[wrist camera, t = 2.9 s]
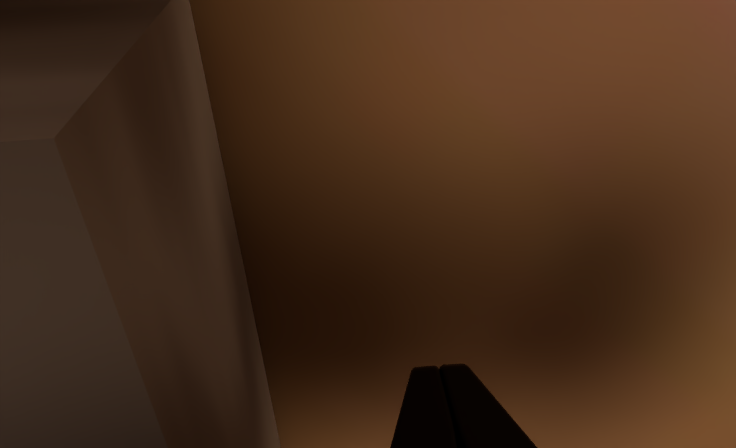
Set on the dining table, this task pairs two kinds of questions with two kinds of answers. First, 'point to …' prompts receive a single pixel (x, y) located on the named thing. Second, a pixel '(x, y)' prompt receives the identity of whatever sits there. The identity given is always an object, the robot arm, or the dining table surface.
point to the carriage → (119, 238)
